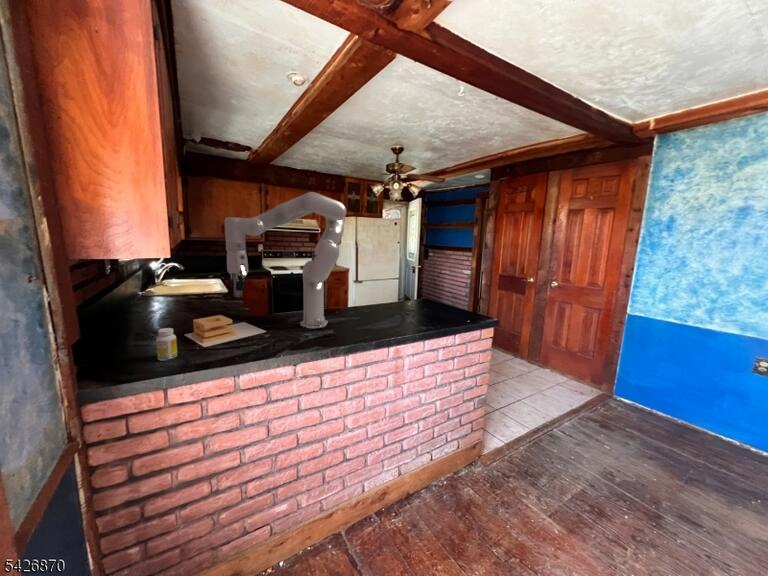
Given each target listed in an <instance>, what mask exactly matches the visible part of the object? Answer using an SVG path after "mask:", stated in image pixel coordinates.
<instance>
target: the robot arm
mask: <svg viewBox="0 0 768 576" xmlns="http://www.w3.org/2000/svg"><path fill="white" fill-rule="evenodd" d="M313 213H314V214H316V215H320V216H322V217H324V219H325V221H326V226H325V229H324V231H323V233H322V235H321V237H320V238H319V240H318V242H317V243H316V245H315V248H314V254H315V257H314V258H313V259H311V260H308V261H306V262H305V264H304V265H303V267H302V272H301V273H302V282H303V283H302V284H303V286H302V287H303V320H302V321H300V327H302V326H303V327H302V328H304V327H306V328H305V329H320V328H324V327H326V326H327V324H328V322H329V321H328V320H326V319H325V318H326V317H325V316H324V314H325V313H324V312H325V311H324V307H325V306H324V302H325V301H324V300H325V299H324V297H325V295H324V294H325V284H324V282H325V281H326V280H327V279H328V278H329V276H330V275H331V273H332V271H333V269H334V267H335V266H336V264H337V261H338V259H339V257H340V249H339V243H340V242H341V239H342V237H343V234H344V231H345V223H344V219H345V217H346V215H347V208H346V206H345V205H344V204H343V203H342V202H341V201H338V200H336V199H334V198H331V197H328V196H325V195H323V194H320V193H318V192H315V191H308V192H306V193H304V194H301V195H300V196H298V197H295V198H293V199H290V200H287V201H285V202H282V203H281V204H279V205H277V206H275V207H274V208H272V209H269V210H267V211H265V212H263V213H260V214H258V215H256V216H254V217H249V218H244V217H243V218H242V217H235V216H233V217H231V216H230V217H226V218H224V230H225V231H224V232H225V251H226V270H227V272H228V274H229V276H230V280H231V284H230V285H231V290H234V283H233V274H236V279H237V281H236V290H237V291H240V290H242V291H244V290H245V278H246V277H247V274H248V273H249V263H248V255H247V250H246V248H247V247H246V235H248V236H253V237H257V236H260V235H262V234H263V233H265V232H267V231H269V230H271V229H274V228H277V227H279V226H283V225H286V224H290V223H291V222H294V221H296V220H298V219H300V218H303V217H306V216H307V215H309V214H313ZM239 273H241V274H239ZM239 275H241V276H239Z"/></svg>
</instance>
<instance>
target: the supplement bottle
mask: <svg viewBox="0 0 768 576" xmlns="http://www.w3.org/2000/svg"><path fill="white" fill-rule="evenodd" d="M157 335H158V336H157V337H156V338H155V340H156V341H155V342H156V343H155V344H156V352H157V356H156V357H157V360H159V361H163V362H165V361H167V360H171V359H175V358H176V357H177V356H178V345H177V336H176V334H174V328H171V327H167V328H166V327H165V328H160V329H158V331H157Z"/></svg>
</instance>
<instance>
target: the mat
mask: <svg viewBox="0 0 768 576" xmlns="http://www.w3.org/2000/svg"><path fill="white" fill-rule="evenodd" d="M227 325H228V326H230V327H232V328H233V332H235V333H236V336H231V337H227V338H223V339H219V340H214V341H210V342H206V343H203V342H201V341H199V340H198V339H196V338H194V337H192V336H191V332H190V333H185V334H184V336H185V337H187V338H188V339H190V340H192V341H194V342H195V343H197V344H198V345H200V346H202V347H204V348H206V347H211V346H215V345H219V344H223V343H227V342H230V341H235V340H238V339H243V338H247V337H252V336H256V335H259V334H264V333H266V332H267V331H266V330H265V329H262V328H261V327H260V328H259V327H257V326H255V325H253V324H249V323H247V322H244V321H243V322H238V323H232V324H227Z"/></svg>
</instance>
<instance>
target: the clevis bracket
mask: <svg viewBox="0 0 768 576" xmlns="http://www.w3.org/2000/svg"><path fill="white" fill-rule="evenodd" d="M192 322H193V323H192V324H193V332H192V333H191V332H190V333H191V336H192V337H194V338H196V339H198V340H199V341H201V342H203V343H206V342H210V341H214V340H219V339H223V338H227V337H231V336H236V333H235V332H233V328H232V327H230V326H228V325H232V324H233V319H232V318H229V317H227V316H224V315H222V314H218V315H212V316H207V317H201V318H196V319H193V320H192Z"/></svg>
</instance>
